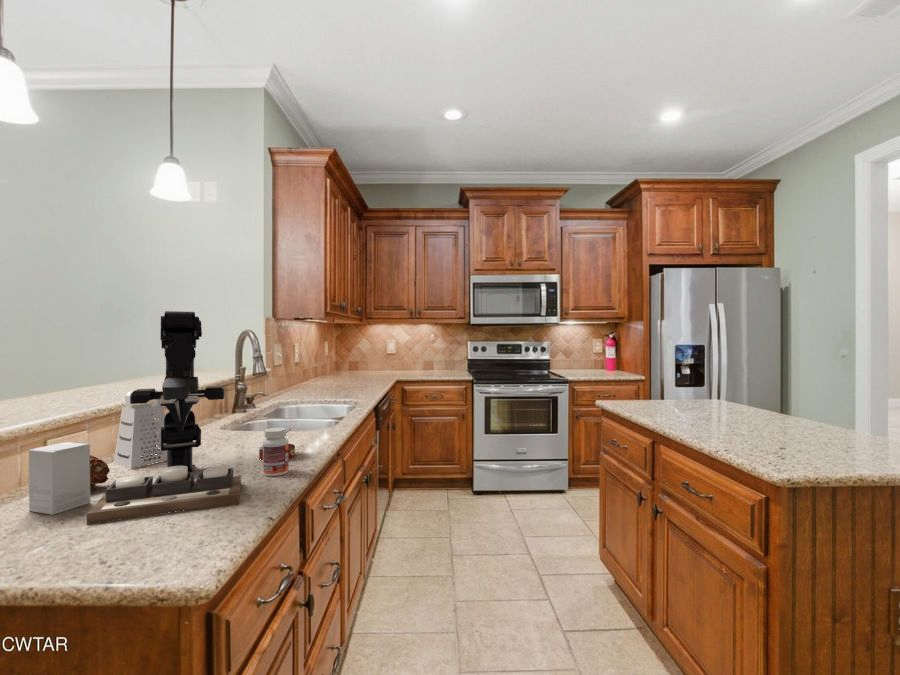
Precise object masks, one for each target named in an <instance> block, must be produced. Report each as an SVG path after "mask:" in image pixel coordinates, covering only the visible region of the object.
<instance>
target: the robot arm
mask: <svg viewBox="0 0 900 675" xmlns="http://www.w3.org/2000/svg"><path fill="white" fill-rule="evenodd" d="M163 312H164V313H163V314H164V315H160V341H161V349H162V350H163V349H164V358H165V378H164V380H163V383H162V385H161V389H162V390H161V391H160V390H159V391H158V390H157V391H158V392H156V391H155V390H156V388H137V389H135V390H132V391H133V392H132V393H131V395H130V404H131V405H141V404H148V402H149V401H152V400H153V401H154V399H160V405H161V406H164V407H165V408H166V409H167V411H168V412H167V413H165V418H164V427H161V451H165V450H167V461H166V465H167V466H166V468H167V467H172V466H187V467H188V473H189V472H194V470H195V468H196V464H193V448H199V447H200V446H201V445H202V428H200V426H199V423H196V416H195V413H194V411H193V410H192V407H193V405H197V404H198V403H199V402H200V399H199V398H205V399H207V400H208V401H215V400H224V399H225V397H226V387H225V386H223V385H207V386H206V387H205V389H199V387H200V386H199V377H198V376H195V359H196V355H197V354H196V353H197V352H196V348H197V341H199V340H200V338H202V336H203V332H202V331H203V329H202V321H201V320H200V317H199V316H196V312H195V311H178V310H177V311H173V310H172V311H170V310H166V311H163ZM165 443H166V444H167V445H164V444H165Z"/></svg>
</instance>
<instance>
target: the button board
mask: <svg viewBox="0 0 900 675" xmlns="http://www.w3.org/2000/svg"><path fill="white" fill-rule="evenodd" d="M227 468H228V467H227ZM203 471H204V470H200V471H199V473H198V475H197V478H196V480H195V471H193V472H189V473H188V479H187V480H185V481H176V482H167V483H161V474H160V475H158V477H157V478H156V479H155V481H153V480H154V478H153V477H154V476H144V477H145V484H144V485H140V486H131V487H122V488H116V480H117V479H116V480H114V481H113V482H112V483H111V484H110V485H109V486H108V487H107V488H106V489H105V494H104V495H103V496H102V497H100V499H99V500H98V501H96V503H95V504H94V505H93V506H92V507H91V509H89V510H88V512H87V513H86V525H90V524H91V525H92V524H97V523H99V524H100V523H106V522H112V521H113V520H115V521H120V520H119V519H122V520H129V519H128V518H130V519H135V518H134V517H137V518H143V517H142V516H145V517H150V516H149V515H152V516H157V515H156V514H160V515H162V514H161V513H167V514H169V513H168V512H175V511H182V512H184V511H183V510H190V511H194V510H193V509H197V510H203V509H202V508H205V509H210V508H209V507H212V508H218V506H220V507H225V506H233V505H239V504H240V497H241V489H242V476H241V475H236V476H234V467H229V468H228V476H222V477H213V478H204V479H203ZM175 513H176V512H175Z"/></svg>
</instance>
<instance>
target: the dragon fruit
mask: <svg viewBox="0 0 900 675" xmlns="http://www.w3.org/2000/svg"><path fill="white" fill-rule="evenodd" d="M110 471H111V470H110V467H109V466H108V464H107V463H106V461H104V460H102V459H99V458H98V457H96V456H94V455H91V454H90V491H92V490H95V487H96V485H97V484H100V485H101V484H105V483H106V482H107V481H108V480H109V477H108V475H109V473H110Z"/></svg>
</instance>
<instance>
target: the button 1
mask: <svg viewBox="0 0 900 675" xmlns="http://www.w3.org/2000/svg"><path fill="white" fill-rule="evenodd" d="M145 477H146V476H144V475H138V474H137V475H128V476H123V477H121V478H118V479H116V488H122V487H131V486H140V485H144V484H145Z"/></svg>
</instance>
